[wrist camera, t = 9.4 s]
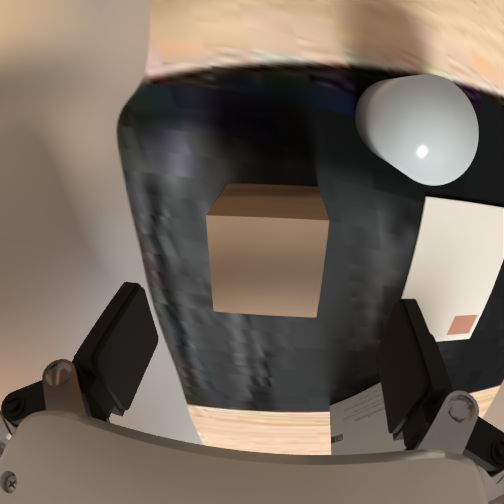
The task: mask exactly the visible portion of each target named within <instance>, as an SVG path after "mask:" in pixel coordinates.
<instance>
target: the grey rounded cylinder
mask: <svg viewBox="0 0 504 504" xmlns="http://www.w3.org/2000/svg"><path fill="white" fill-rule="evenodd" d="M355 122H356V127H357V131H358V133H359V136H360V138H361V140H362V141H363V143H364V144H365V145H366V146H367V147H368V149H369V150H371V151H372V152H373V153H375V154H376V155H378V156H379V157H381V158H382V159H384V160H385V161H387V162H388V163H390V164H391V165H393V166H394V167H396V168H397V169H398V170H400V171H401V172H403V173H404V174H406V175H407V176H408V177H410V178H411V179H413V180H415V181H417V182H419V183H422V184H426V185H442V184H446V183H449V182H451V181H453V180H455V179H457V178H458V177H459V176H461V175H462V174H463V173H464V172H465V171H466V170H467V168H468V167H469V165H470V164H471V162H472V160H473V158H474V156H475V153H476V150H477V145H478V135H479V132H478V123H477V118H476V114H475V112H474V109H473V107H472V105H471V103H470V101H469V99H468V98H467V96H466V95H465V94H464V93H463V91H462V90H461V89H460V88H459V87H457V86H456V85H455V84H454V83H452V82H451V81H449V80H447V79H445V78H443V77H440V76H437V75H432V74H423V75H415V76H407V77H401V78H394V79H388V80H382V81H379V82H376V83H374V84H372V85H371V86H369V87H368V88H367V89H366V90H365V91H364V92H363V93H362V95H361V96H360V98H359V100H358V103H357V106H356V111H355Z"/></svg>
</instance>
